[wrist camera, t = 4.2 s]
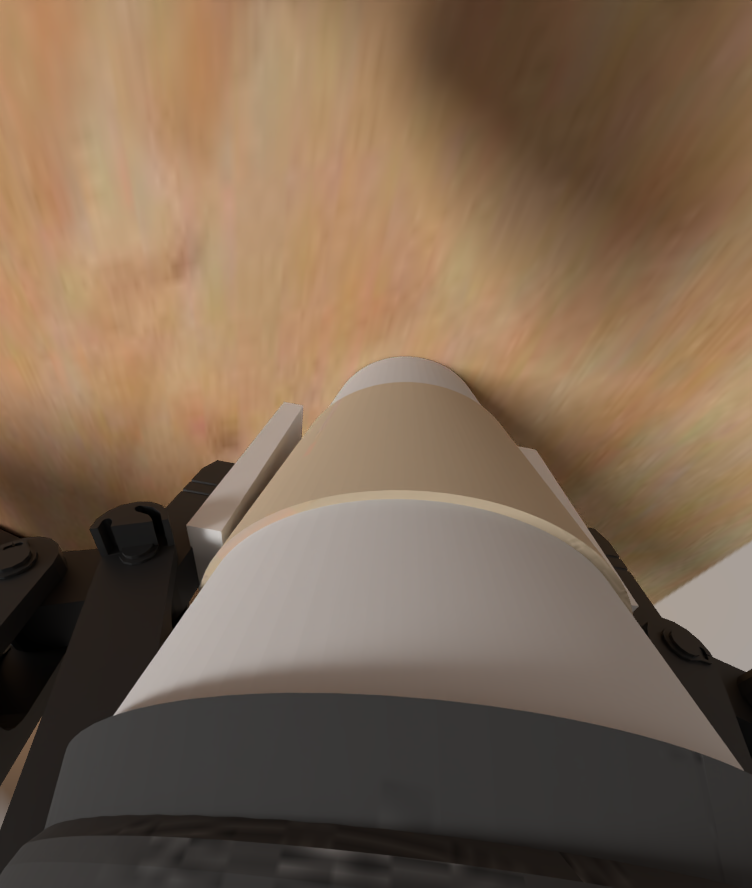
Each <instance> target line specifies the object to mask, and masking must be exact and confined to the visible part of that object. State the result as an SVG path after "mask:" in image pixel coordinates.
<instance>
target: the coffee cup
mask: <svg viewBox="0 0 752 888" xmlns="http://www.w3.org/2000/svg"><path fill="white" fill-rule="evenodd" d="M0 888H752V775H751V774H749V773H747V772H745V771H744V770H743V768H742V767H741V766H740V764H739V763H738V761H737V760H736V759H735V757H734V756H733V754H732V753H731V752H730V750H729V749H728V747H727V746H726V745H725V743H724V742H723V741H722V739H721V738H720V736H719V735H718V734H717V732H716V731H715V729H714V728H713V727H712V725H711V724H710V722H709V721H708V720H707V718H706V717H705V716H704V714H703V713H702V711H701V710H700V709H699V707H698V706H697V704H696V703H695V702H694V700H693V699H692V697H691V696H690V695H689V693H688V692H687V691H686V689H685V688H684V686H683V685H682V684H681V682H680V681H679V679H678V678H677V677H676V675H675V674H674V672H673V671H672V670H671V668H670V667H669V665H668V664H667V663H666V661H665V660H664V659H663V657H662V656H661V654H660V653H659V652H658V650H657V649H656V647H655V646H654V645H653V643H652V642H651V640H650V639H649V638H648V636H647V635H646V634H645V632H644V631H643V629H642V628H641V627H640V625H639V624H638V622H637V621H636V620H635V618H634V617H633V612H632V606H631V602H630V599H629V596H628V594H627V591H626V589H625V587H624V585H623V584H622V582H621V580H620V579H619V577H618V576H617V574H616V573H615V572H614V571H613V569H612V568H611V567H610V565H609V564H608V563H607V561H606V560H605V559H604V558H603V556H602V555H601V554H600V552H599V551H598V550H597V549H596V547H595V546H594V545H593V543H592V542H591V541H590V539H589V538H588V537H587V536H586V534H585V533H584V532H583V530H582V529H581V528H580V527H579V525H578V524H577V523H576V521H575V520H574V519H573V517H572V516H571V515H570V514H569V512H568V511H567V510H566V508H565V507H564V506H563V505H562V503H561V502H560V501H559V499H558V498H557V497H556V495H555V494H554V493H553V492H552V490H551V489H550V488H549V486H548V485H547V484H546V483H545V481H544V480H543V479H542V477H541V476H540V475H539V473H538V472H537V471H536V470H535V468H534V467H533V466H532V464H531V463H530V462H529V461H528V459H527V458H526V457H525V455H524V454H523V453H522V451H521V450H520V449H519V448H518V446H517V445H516V444H515V442H514V441H513V440H512V439H511V437H510V436H509V435H508V433H507V432H506V431H505V430H504V428H503V427H502V426H501V424H500V423H499V422H498V421H497V419H496V418H495V417H494V416H493V415H492V414H491V413H490V412H489V411H487V410H486V409H485V408H484V407H482V406H481V404H480V403H479V401H478V400H477V399H476V397H475V396H474V394H473V393H472V392H471V390H470V389H469V388H468V386H467V385H466V384H465V382H464V381H463V380H462V379H461V378H460V377H459V376H458V375H457V374H455V373H454V372H453V371H451V370H450V369H448V368H447V367H445V366H443V365H441V364H439V363H437V362H434V361H431V360H428V359H424V358H418V357H393V358H387V359H383V360H380V361H377V362H374V363H372V364H370V365H368V366H366V367H364V368H363V369H361V370H360V371H358V372H357V373H355V374H354V375H353V376H352V377H351V378H350V379H349V380H348V381H347V382H346V383H345V385H344V386H343V387H342V389H341V390H340V392H339V393H338V395H337V396H336V397H335V399H334V400H333V402H332V403H331V405H330V406H329V407H328V408H327V409H326V410H325V411H324V412H322V413H321V414H320V415H319V417H318V418H317V419H316V420H315V421H314V422H313V424H312V425H311V426H310V428H309V429H308V430H307V432H306V433H305V435H304V436H303V437H302V439H301V440H300V441H299V443H298V444H297V445H296V447H295V448H294V449H293V451H292V452H291V454H290V455H289V456H288V458H287V459H286V460H285V462H284V463H283V464H282V466H281V467H280V468H279V470H278V471H277V472H276V474H275V475H274V477H273V478H272V479H271V481H270V482H269V483H268V485H267V486H266V487H265V489H264V490H263V491H262V493H261V494H260V496H259V497H258V498H257V500H256V501H255V502H254V504H253V505H252V506H251V508H250V509H249V510H248V512H247V513H246V514H245V516H244V517H243V519H242V520H241V521H240V523H239V524H238V525H237V527H236V528H235V529H234V531H233V532H232V533H231V535H230V536H229V538H228V539H227V540H226V542H225V543H224V544H223V546H222V547H221V548H220V550H219V551H218V552H217V554H216V555H215V556H214V558H213V559H212V561H211V562H210V564H209V566H208V567H207V569H206V571H205V573H204V576H203V579H202V581H201V586H200V590H199V594H198V595H197V597H196V598H195V599H194V601H193V602H192V604H191V605H190V607H189V608H188V609H187V611H186V612H185V614H184V615H183V617H182V618H181V619H180V621H179V622H178V624H177V625H176V627H175V628H174V629H173V631H172V632H171V634H170V635H169V637H168V638H167V639H166V641H165V642H164V644H163V645H162V647H161V648H160V650H159V651H158V652H157V654H156V655H155V657H154V658H153V660H152V661H151V662H150V664H149V665H148V667H147V668H146V670H145V671H144V672H143V674H142V675H141V677H140V678H139V680H138V681H137V682H136V684H135V685H134V687H133V688H132V690H131V691H130V692H129V694H128V695H127V697H126V698H125V700H124V701H123V703H122V704H121V705H120V707H119V708H118V710H117V711H116V713H115V714H114V715H113V716H111V717H108V718H106V719H104V720H101V721H99V722H97V723H94V724H93V725H91V726H89V727H88V728H86V729H84V730H82V731H81V732H80V733H79V734H77V735H76V736H75V737H74V738H73V739H72V740H71V742H70V743H69V745H68V746H67V748H66V752H65V755H64V759H63V762H62V766H61V770H60V773H59V777H58V781H57V784H56V788H55V792H54V795H53V799H52V803H51V806H50V810H49V814H48V817H47V821H46V825H45V828H44V830H43V831H42V832H41V833H39V834H38V835H37V836H35V837H34V838H33V839H31V840H30V841H28V842H27V843H26V844H24V845H23V846H22V847H21V848H20V849H19V851H18V852H17V853H16V854H15V856H14V857H13V858H12V859H11V861H10V862H9V863H8V864H7V866H6V867H5V868H4V870H3V871H2V873H1V874H0Z"/></svg>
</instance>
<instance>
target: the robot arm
mask: <svg viewBox="0 0 752 888" xmlns="http://www.w3.org/2000/svg"><path fill="white" fill-rule="evenodd" d="M302 420H303V405H298V404H293V403H287V402H284V403H283V404H282V405H281V406H280V408H279V409H278V410H277V411H276V413H275V414H274V415H273V417H272V418H271V419H270V420H269V422H268V423H267V424H266V425H265V427H264V428H263V429H262V430H261V432H260V433H259V434H258V435H257V437H256V438H255V439H254V440H253V442H252V443H251V444H250V445H249V447H248V448H247V449H246V451H245V452H244V453H243V454H242V456H241V457H240V458H239V459H238V461H237V462H236V463H229V462H224V461H218V460H217V461H215V462H213V463H212V464H210V465H208V466H206V467H204V468H202V469H201V470H200V471H199V473H198V474H197V475H196V476H195V477H194V478H193V479H192V482H189V483H188V484H187V486H186V487H185V488H184V489H183V492H182V491H181V492H180V493H179V494H178V495H177V496H176V497H175V498H174V500H173V501H172V502H171V503H170V504H169V505H168V506H167V507H166V508H164V507H163V506H162V505H159V504H156V503H153V502H134V503H129V504H124V505H121V506H119V507H116V508H114V509H112V510H109V511H108V512H106V513H105V514H103V515H102V516H101V517H99V518H98V519H97V520H96V521H95V522H94V524H93V525H92V526H91V528H90V532H91V534H92V536H93V539H94V541H95V543H96V546H97V548H98V549H91V550H80V551H68V552H62V551H61V549H60V547H59V545H58V544H57V543H56V542H55V541H53V540H52V539H50V538H44V537H29V538H22V539H20V538H18V537H16V536H14V535H12V534H10V533H7V532H5V531H3V530H1V529H0V786H1V784H2V782H3V781H4V779H5V777H6V775H7V774H8V772H9V771H10V769H11V767H12V765H13V764H14V762H15V760H16V759H17V757H18V755H19V754H20V752H21V750H22V749H23V747H24V745H25V744H26V742H27V740H28V738H29V737H30V735H31V734H32V732H33V730H34V728H35V727H36V725H37V723H38V722H39V720H40V718H41V717H42V718H41V721H40V724H39V726H38V729H37V732H36V735H35V737H34V740H33V743H32V745H31V748H30V751H29V753H28V756H27V759H26V762H25V764H24V767H23V770H22V773H21V775H20V778H19V781H18V783H17V786H16V789H15V791H14V794H13V797H12V800H11V802H10V805H9V808H8V811H7V813H6V816H5V819H4V821H3V824H2V827H1V829H0V874H1V873H2V871H3V870H4V868H5V867H6V866H7V864H8V863H9V862H10V861H11V859H12V858H13V857H14V856H15V854H16V853H17V852H18V851H19V849H20V848H21V847H22V846H23V845H24V844H26V843H27V842H28V841H30V840H31V839H33V838H34V837H35V836H37V835H38V834H39V833H41V832H42V831H43V830H44V828H45V825H46V821H47V817H48V814H49V810H50V806H51V803H52V799H53V795H54V792H55V788H56V784H57V781H58V777H59V773H60V770H61V766H62V762H63V759H64V755H65V752H66V748H67V746H68V745H69V743H70V742H71V740H72V739H73V738H74V737H75V736H76V735H77V734H79V733H80V732H81V731H82V730H84V729H86V728H88V727H89V726H91V725H93V724H94V723H97V722H99V721H101V720H104V719H106V718H108V717H111V716H113V715H114V714H115V713H116V711H117V710H118V708H119V707H120V705H121V704H122V703H123V701H124V700H125V698H126V697H127V695H128V694H129V692H130V691H131V690H132V688H133V687H134V685H135V684H136V682H137V681H138V680H139V678H140V677H141V675H142V674H143V672H144V671H145V670H146V668H147V667H148V665H149V664H150V662H151V661H152V660H153V658H154V657H155V655H156V654H157V652H158V651H159V650H160V648H161V647H162V645H163V644H164V642H165V641H166V639H167V638H168V637H169V635H170V634H171V632H172V631H173V629H174V628H175V627H176V625H177V624H178V622H179V621H180V619H181V618H182V617H183V615H184V614H185V612H186V611H187V609H188V608H189V601H190V600H191V598H192V596H193V595H194V593H195V591H196V590H197V588H198V587H199V590H200V586H201V581H202V579H203V576H204V573H205V571H206V569H207V567H208V566H209V564H210V562H211V561H212V559H213V558H214V556H215V555H216V554H217V552H218V551H219V550H220V548H221V547H222V546H223V544H224V543H225V542H226V540H227V539H228V538H229V536H230V535H231V533H232V532H233V531H234V529H235V528H236V527H237V525H238V524H239V523H240V521H241V520H242V519H243V517H244V516H245V514H246V513H247V512H248V510H249V509H250V508H251V506H252V505H253V504H254V502H255V501H256V500H257V498H258V497H259V496H260V494H261V493H262V491H263V490H264V489H265V487H266V486H267V485H268V483H269V482H270V481H271V479H272V478H273V477H274V475H275V474H276V472H277V471H278V470H279V468H280V467H281V466H282V464H283V463H284V462H285V460H286V459H287V458H288V456H289V455H290V454H291V452H292V451H293V449H294V448H295V447H296V445H297V444H298V443H299V441H300V440H301V437H302ZM518 448H519V449H520V450H521V451H522V453H523V454H524V455H525V457H526V458H527V459H528V461H529V462H530V463H531V464H532V466H533V467H534V468H535V470H536V471H537V472H538V473H539V475H540V476H541V477H542V479H543V480H544V481H545V483H546V484H547V485H548V486H549V488H550V489H551V490H552V492H553V493H554V494H555V495H556V497H557V498H558V499H559V501H560V502H561V503H562V505H563V506H564V507H565V508H566V510H567V511H568V512H569V514H570V515H571V516H572V517H573V519H574V520H575V521H576V523H577V524H578V525H579V527H580V528H581V529H582V530H583V532H584V533H585V534H586V536H587V537H588V538H589V539H590V541H591V542H592V543H593V545H594V546H595V547H596V549H597V550H598V551H599V552H600V554H601V555H602V556H603V558H604V559H605V560H606V561H607V563H608V564H609V565H610V567H611V568H612V569H613V571H614V572H615V573H616V574H617V576H618V577H619V579H620V580H621V582H622V584H623V585H624V587H625V589H626V591H627V594H628V596H629V599H630V602H631V606H632V612H633V617H634V618H635V620H636V621H637V622H638V624H639V625H640V627H641V628H642V629H643V631H644V632H645V634H646V635H647V636H648V638H649V639H650V640H651V642H652V643H653V645H654V646H655V647H656V649H657V650H658V652H659V653H660V654H661V656H662V657H663V659H664V660H665V661H666V663H667V664H668V665H669V667H670V668H671V670H672V671H673V672H674V674H675V675H676V677H677V678H678V679H679V681H680V682H681V684H682V685H683V686H684V688H685V689H686V691H687V692H688V693H689V695H690V696H691V697H692V699H693V700H694V702H695V703H696V704H697V706H698V707H699V709H700V710H701V711H702V713H703V714H704V716H705V717H706V718H707V720H708V721H709V722H710V724H711V725H712V727H713V728H714V729H715V731H716V732H717V734H718V735H719V736H720V738H721V739H722V741H723V742H724V743H725V745H726V746H727V747H728V749H729V750H730V752H731V753H732V754H733V756H734V757H735V759H736V760H737V761H738V763H739V764H740V766H741V767H742V768H743V770H744V771H745V772H747V773H749V774H751V775H752V669H751V670H749V671H748V672H744V671H742V670H740V669H738V668H735V667H733V666H731V665H729V664H727V663H724V662H722V661H720V660H718V659H715V658H713V657H712V655H711V654H710V652H709V651H708V650H707V649H706V647H705V646H704V645H703V644H702V643H701V642H700V641H699V640H698V639H697V638H696V637H695V636H694V635H692V634H691V633H690V632H689V631H688V630H686V629H684V628H683V627H681V626H680V625H678V624H676V623H675V622H672V621H669V620H667V619H664V618H662V617H661V616H660V615H659V613H658V612H657V610H656V609H655V607H654V606H653V604H652V603H651V602H650V600H649V599H648V597H647V596H646V594H645V593H644V592H643V590H642V589H641V587H640V586H639V584H638V583H637V582H636V580H635V579H634V577H633V576H632V574H631V573H630V572H628V571H627V567H626V566H625V564H624V563H623V562H622V560H621V559H619V556H618V554H617V553H616V552H615V550H614V549H613V547H612V546H611V544H610V543H609V542H608V541H607V540H606V539H605V538H604V537H603V536H602V535H601V534H599V533H598V532H597V531H596V530H595V529H593V528H587V527H586V525H585V524H584V522H583V521H582V519H581V518H580V516H579V514H578V513H577V511H576V510H575V508H574V507H573V505H572V504H571V502H570V501H569V499H568V498H567V496H566V495H565V493H564V492H563V490H562V489H561V487H560V486H559V484H558V482H557V481H556V479H555V478H554V476H553V475H552V473H551V472H550V470H549V469H548V467H547V466H546V464H545V463H544V461H543V460H542V458H541V457H540V455H539V454H538V452H537V450H535V449H530V448H525V447H520V446H518Z"/></svg>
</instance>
